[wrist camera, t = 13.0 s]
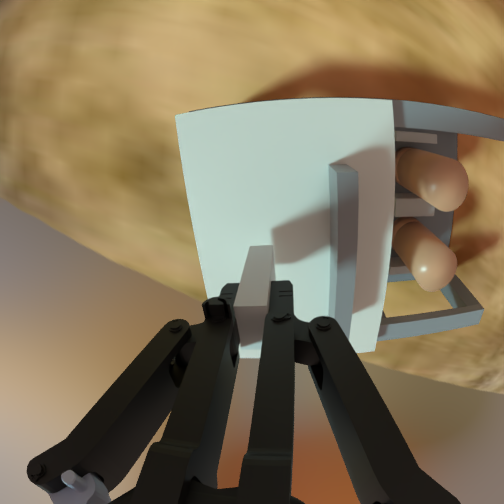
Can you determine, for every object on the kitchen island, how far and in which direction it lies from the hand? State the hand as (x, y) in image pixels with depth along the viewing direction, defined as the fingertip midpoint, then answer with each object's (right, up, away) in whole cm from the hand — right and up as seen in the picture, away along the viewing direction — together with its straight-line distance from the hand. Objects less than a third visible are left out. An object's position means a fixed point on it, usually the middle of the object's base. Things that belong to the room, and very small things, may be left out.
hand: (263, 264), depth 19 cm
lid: (+2, +1, +2) cm, 3 cm away
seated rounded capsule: (+17, +3, +11) cm, 21 cm away
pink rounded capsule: (+16, +10, +8) cm, 21 cm away
